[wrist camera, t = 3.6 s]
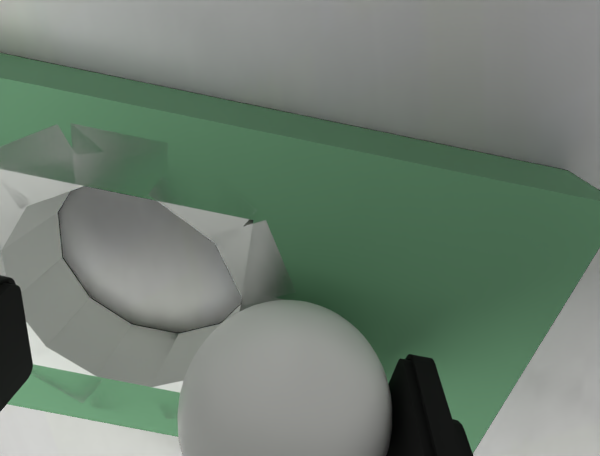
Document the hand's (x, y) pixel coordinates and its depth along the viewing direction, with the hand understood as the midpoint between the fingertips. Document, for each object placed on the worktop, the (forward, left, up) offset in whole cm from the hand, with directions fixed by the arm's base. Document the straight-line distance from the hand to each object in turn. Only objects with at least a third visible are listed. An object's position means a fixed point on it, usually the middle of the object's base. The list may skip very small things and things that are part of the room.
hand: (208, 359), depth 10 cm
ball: (-2, 0, +1) cm, 2 cm away
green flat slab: (-1, 0, -4) cm, 4 cm away
